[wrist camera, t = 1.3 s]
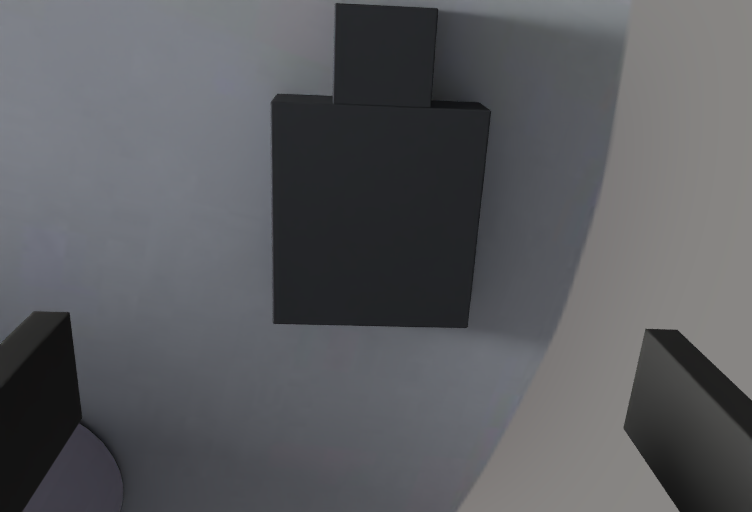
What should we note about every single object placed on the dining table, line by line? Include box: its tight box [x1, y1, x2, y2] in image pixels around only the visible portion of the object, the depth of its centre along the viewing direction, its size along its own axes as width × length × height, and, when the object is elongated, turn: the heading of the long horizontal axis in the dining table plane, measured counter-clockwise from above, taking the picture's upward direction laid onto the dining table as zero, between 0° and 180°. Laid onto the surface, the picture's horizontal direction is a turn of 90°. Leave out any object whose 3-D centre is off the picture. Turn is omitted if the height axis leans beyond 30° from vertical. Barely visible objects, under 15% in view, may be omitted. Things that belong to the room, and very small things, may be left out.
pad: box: [271, 3, 491, 328], centre depth 29 cm, size 9×14×2 cm, turn 177°
